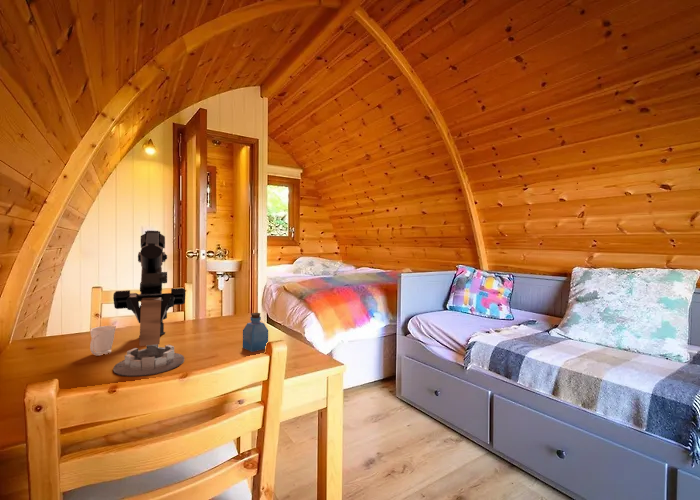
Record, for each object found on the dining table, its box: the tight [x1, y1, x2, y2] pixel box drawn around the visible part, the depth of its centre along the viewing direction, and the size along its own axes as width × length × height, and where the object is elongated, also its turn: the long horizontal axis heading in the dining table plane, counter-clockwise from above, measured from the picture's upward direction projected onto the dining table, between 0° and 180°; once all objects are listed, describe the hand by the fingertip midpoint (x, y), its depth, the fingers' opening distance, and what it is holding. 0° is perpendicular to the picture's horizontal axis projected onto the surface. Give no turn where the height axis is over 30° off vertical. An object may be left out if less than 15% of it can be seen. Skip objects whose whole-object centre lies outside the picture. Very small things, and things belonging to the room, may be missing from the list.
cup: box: [89, 325, 116, 357], centre depth 107 cm, size 7×10×8 cm
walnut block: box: [138, 298, 161, 347], centre depth 99 cm, size 5×5×13 cm
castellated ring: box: [113, 344, 185, 378], centre depth 99 cm, size 18×18×4 cm
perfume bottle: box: [242, 312, 269, 353], centre depth 116 cm, size 6×6×12 cm
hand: (150, 321), depth 98 cm, fingers closed on walnut block, 5 cm apart
